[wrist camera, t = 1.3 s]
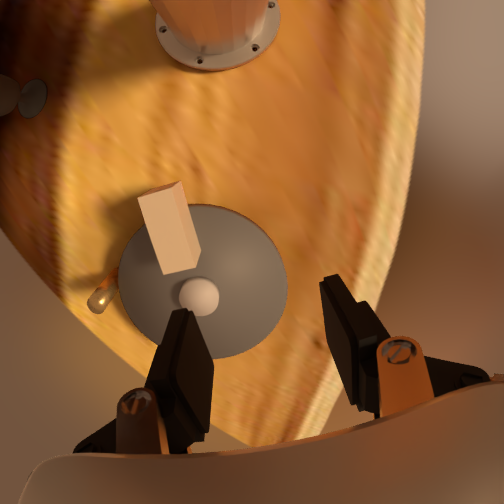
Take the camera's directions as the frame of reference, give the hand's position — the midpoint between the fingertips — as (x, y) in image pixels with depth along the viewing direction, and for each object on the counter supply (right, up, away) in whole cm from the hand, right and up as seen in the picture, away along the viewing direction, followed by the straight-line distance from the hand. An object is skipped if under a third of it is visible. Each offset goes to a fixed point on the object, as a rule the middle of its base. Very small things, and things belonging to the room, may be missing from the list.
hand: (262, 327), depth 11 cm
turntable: (-6, 0, +21) cm, 21 cm away
